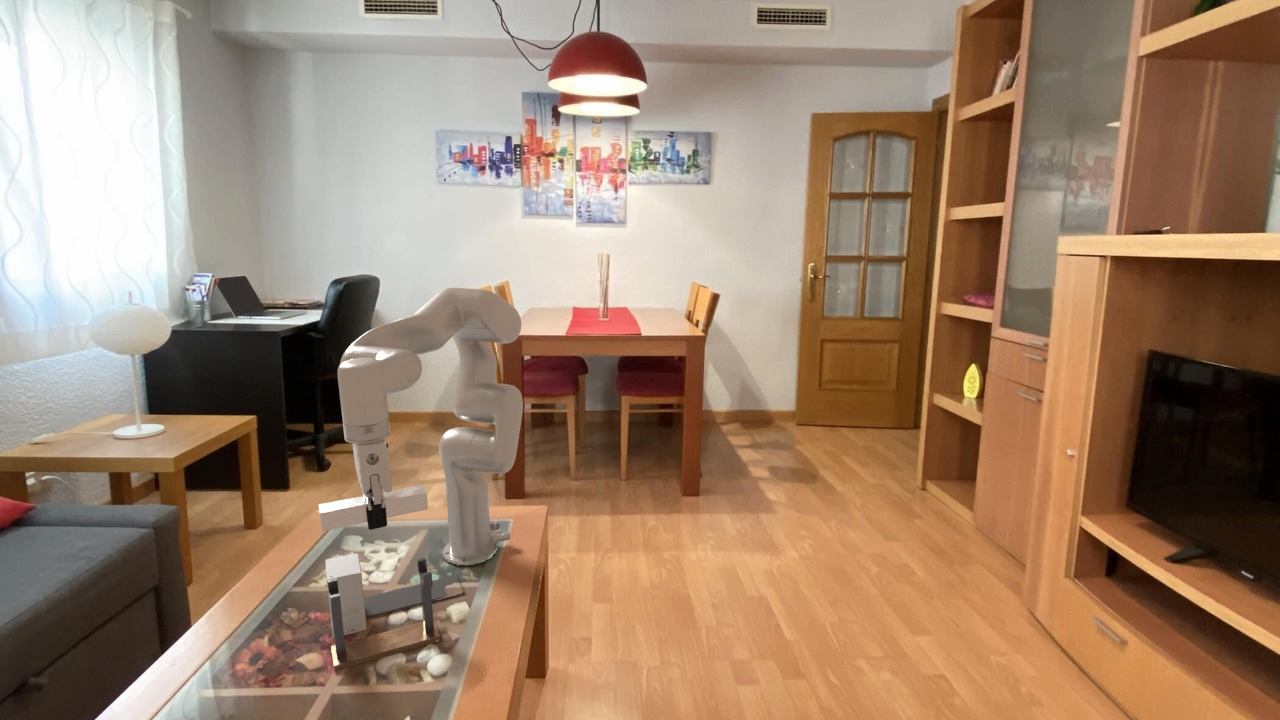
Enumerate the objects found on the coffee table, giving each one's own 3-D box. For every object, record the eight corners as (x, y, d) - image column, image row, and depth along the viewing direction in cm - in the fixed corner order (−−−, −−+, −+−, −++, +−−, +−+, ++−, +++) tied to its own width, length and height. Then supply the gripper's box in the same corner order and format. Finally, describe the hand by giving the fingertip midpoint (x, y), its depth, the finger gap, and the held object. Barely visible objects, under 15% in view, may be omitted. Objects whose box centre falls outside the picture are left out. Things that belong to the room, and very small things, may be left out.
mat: (456, 577, 156) (456, 574, 155) (464, 593, 150) (464, 591, 149) (361, 600, 147) (361, 598, 146) (365, 619, 141) (365, 616, 140)
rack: (433, 623, 140) (429, 556, 136) (440, 641, 134) (435, 572, 130) (331, 651, 131) (323, 581, 127) (334, 671, 126) (325, 599, 122)
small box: (367, 630, 137) (361, 572, 134) (332, 639, 135) (326, 580, 131) (364, 607, 144) (358, 552, 141) (330, 615, 142) (324, 559, 138)
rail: (424, 501, 131) (423, 484, 130) (428, 509, 128) (426, 492, 127) (320, 522, 123) (318, 504, 122) (322, 531, 120) (320, 513, 119)
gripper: (397, 441, 116) (405, 538, 121) (382, 410, 130) (390, 498, 135) (348, 449, 112) (359, 549, 117) (339, 416, 126) (349, 506, 131)
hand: (376, 521), depth 126 cm, fingers closed on rail, 3 cm apart
